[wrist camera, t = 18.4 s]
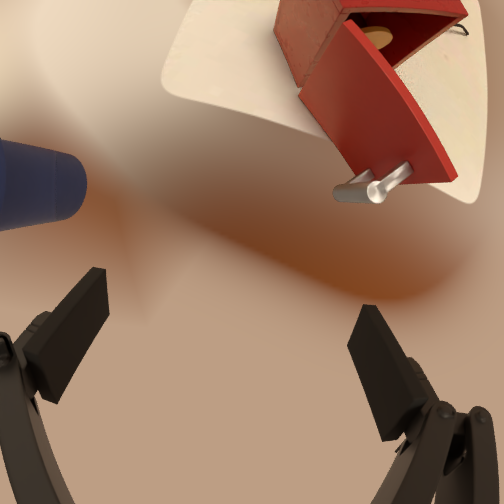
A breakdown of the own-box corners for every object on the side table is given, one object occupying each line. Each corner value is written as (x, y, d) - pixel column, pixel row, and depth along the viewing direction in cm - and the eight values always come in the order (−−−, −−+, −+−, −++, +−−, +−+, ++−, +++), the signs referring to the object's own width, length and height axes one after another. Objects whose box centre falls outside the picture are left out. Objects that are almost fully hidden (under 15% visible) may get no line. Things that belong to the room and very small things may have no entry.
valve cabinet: (389, 72, 29) (469, 15, 13) (297, 88, 29) (343, 7, 13) (364, 19, 28) (421, -54, 12) (273, 30, 28) (295, -65, 12)
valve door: (331, 210, 31) (406, 221, 16) (264, 116, 29) (286, 48, 14) (368, 183, 31) (458, 176, 16) (303, 92, 29) (351, 18, 14)
